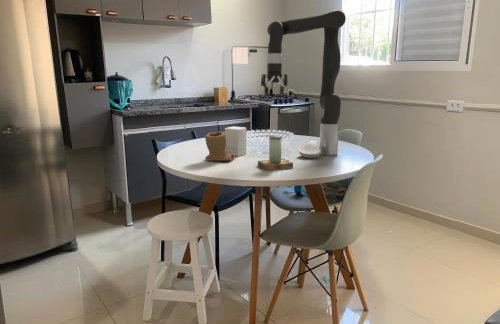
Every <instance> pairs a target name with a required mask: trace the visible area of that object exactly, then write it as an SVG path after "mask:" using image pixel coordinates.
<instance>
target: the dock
mask: <svg viewBox="0 0 500 324" xmlns="http://www.w3.org/2000/svg"><path fill="white" fill-rule="evenodd" d="M257 166H258V167H259V168H261V169H263V170H264V171H265V172H266V171H277V170H285V169H293V168H294V163H293V161H290V160H289V159H286V158H281V162H279V163H272V162H269V159H262V160H257Z"/></svg>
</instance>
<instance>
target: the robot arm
mask: <svg viewBox="0 0 500 324" xmlns="http://www.w3.org/2000/svg"><path fill="white" fill-rule="evenodd" d="M346 20H347V19H346V14H345V13H344V11H342V10H340V9H334V10H332V11H329V12H327V13H323V14H320V15H319V14H318V15H314V16H307V17H298V18H292V19H288V20H285V21H278V20H277V21H273V22H271V23H270V24H268V27H267V29H266V30H267V33H268V35H269V42H268V45H267V60H266V61H267V67H266V69H267V72H266V74H264V73H263V74H262V73H261V78H260V79H261V81H260V82H261V83H260V85H261V86H262V87H263V88H264V94H265V95H269V86H270V85H271V84H274V83H275V84H276V83H277V84H278V85H279V86H280V87H279V95H283V94H284V91H285V87H286V86H288V74H286V73H283V74H282V71H283V55H282V54H283V45H282V44H283V38H284V37H283V36H285V35H292V34H295V35H296V34H299V33H306V32H310V31H313V30H319V29H323V35H324V36H323V37H324V42H323V54H322V55H323V56H322V71H321V72H322V74H321V75H322V76H321V87H320V88H321V89H320V95H319V106H320V108H321V109H322V110H324V113H323V116H322V117H321V118H320V130H319V133H320V134H319V148H320V150H321V152H320V154H319V155H321V156H322V155H323V156H336V155H338V151H339V149H338V148H339V136H338V126H339V125H338V122H339V119H340V117H341V116H340V115H341V108H342V107H341V106H342V102H341V98H340V96H339V95H338V94H335V84H336V81H337V77H338V75H339V73H340V69H341V58H342V57H341V56H342V55H341V50H340V46H339V30H340V28H341V27H343V26H344V25H345V23H346ZM266 79H267V80H266Z"/></svg>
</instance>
